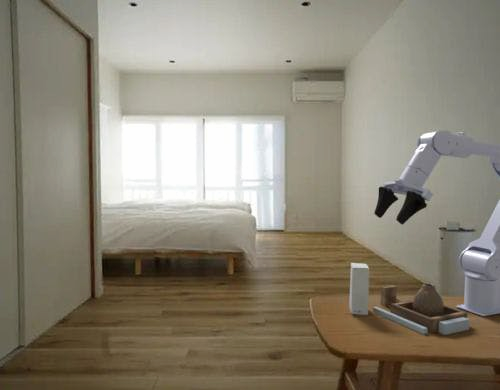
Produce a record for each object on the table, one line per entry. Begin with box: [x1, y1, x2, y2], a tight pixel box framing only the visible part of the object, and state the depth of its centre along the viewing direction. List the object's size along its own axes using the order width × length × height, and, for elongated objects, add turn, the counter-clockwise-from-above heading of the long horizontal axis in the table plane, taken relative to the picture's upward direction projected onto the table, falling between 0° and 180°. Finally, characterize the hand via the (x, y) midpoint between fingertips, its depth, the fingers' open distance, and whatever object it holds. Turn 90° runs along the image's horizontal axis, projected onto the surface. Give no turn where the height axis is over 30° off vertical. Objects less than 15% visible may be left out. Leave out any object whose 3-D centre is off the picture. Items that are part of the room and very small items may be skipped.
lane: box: [372, 306, 470, 336], centre depth 98 cm, size 12×18×2 cm
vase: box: [412, 283, 445, 318], centre depth 98 cm, size 7×7×9 cm
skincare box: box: [348, 262, 370, 316], centre depth 104 cm, size 6×4×12 cm
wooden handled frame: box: [380, 284, 468, 334], centre depth 101 cm, size 12×20×5 cm, turn 25°
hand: (387, 218), depth 98 cm, fingers open, 7 cm apart
